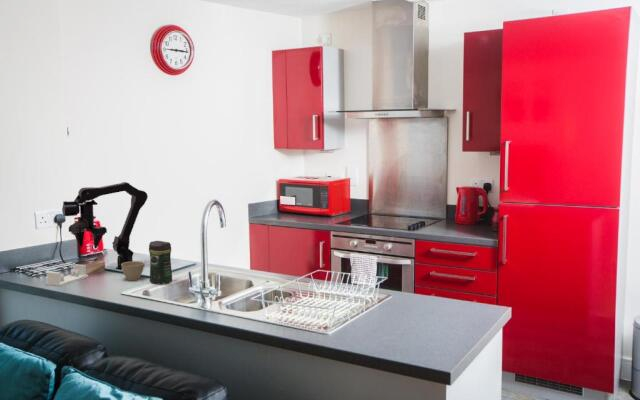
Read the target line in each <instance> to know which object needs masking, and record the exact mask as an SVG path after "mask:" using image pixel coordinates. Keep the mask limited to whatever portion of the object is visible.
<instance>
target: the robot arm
mask: <svg viewBox="0 0 640 400" xmlns="http://www.w3.org/2000/svg"><path fill="white" fill-rule="evenodd" d="M121 192H126V193H127V194H128V195H130V196H131V198H130V208H129V209H128V213H127V215H126V218H125V221H124V224H123V225H122V226H123V227H122V229H121V232H120V233H119V235H118V236H117V235H115V236H114V238H113V242H112V243H111V244H112V249H113V251H114V252H116V253H117V258H116V260H117V261H116V262H117V267H115V269H116V270H122V267H121V264H122V263H125V262H133V256H134V251H133V250H132V249H130V238H131V235H132V231H133V229H134V226H135V224H136V221H137V219H138V215H139V212H140V210H141V209H142V208H143V207H144V205H145V204H146V202H147V200H148V193H147V192H146V191H145V190H143V189H142V190H140V189H138V188H136V187H135V186H133V185H131V184H130V183H129V182H126V181H123V182H120V183H116V184H115V183H114V184H111V185H104V186H99V187H94V186H93V187H92V186H91V187H87V186H86V187H81V188H80V189H79V190H78V194H77V196H76V197H75V199H74V200H73V201H64V200H63V202H62V207H61V210H62V211H61V212H62V216H63V217H74V216H75V217H76V216H78V214H80V216H79V217H78V218H77V221H75V222H74V223H72V224H70V225H69V227H68V232H69V233H70V234H72V235H74V237H75V239H76V241H77V242H78V245H79V247H80V248H82V247H83V244H84V239H85V238H84V237H85V232H88V233H91V237H92V238H93V247H94V249H98V247H99V244H100V242H101V240H102V239H103V236H104V235H105V234H107V233H108V229H107V228H106V227H105V226H97V225H96V224H95V220H94V219H96V215H95V216H94V206H97V205H98V202H96V201H95V199H97V198H98V197H102V196H105V195H112V194H116V193H121Z"/></svg>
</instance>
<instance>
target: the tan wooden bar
mask: <svg viewBox="0 0 640 400" xmlns="http://www.w3.org/2000/svg"><path fill="white" fill-rule="evenodd" d="M85 265H86V274H87V275H88V277H90V276H91V275H94V274H98V273H101V272H105V270H106V265H105V261H104V260H103V261H102V260H96V261H93V262H90V263H87V264H85Z"/></svg>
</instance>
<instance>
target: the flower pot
mask: <svg viewBox="0 0 640 400" xmlns="http://www.w3.org/2000/svg"><path fill="white" fill-rule="evenodd" d="M121 267H122V269H121V271H122V273H123V275H124V277H125V278H126V280H128V281H137V280H139V279H140V278H141V277H142V276H141V275H142V274H143V272H144V268H145V262H143V261H137V260H136V261H135V260H134V261H133V262H125V263H122V264H121Z"/></svg>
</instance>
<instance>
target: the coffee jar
mask: <svg viewBox="0 0 640 400" xmlns="http://www.w3.org/2000/svg"><path fill="white" fill-rule="evenodd" d="M171 245H172V244H171V243H170V242H169V241H162V240H154V241H150V242H149V245H148V252H149V260H150V261H149V263H150V264H149V266H150V267H149V281H150V283H152V284H156V285H163V284H164V285H165V284H166V285H167V284H169V283H171V282H173V273H172V272H173V271H172V270H173V269H172V262H171V253H172V246H171Z"/></svg>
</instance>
